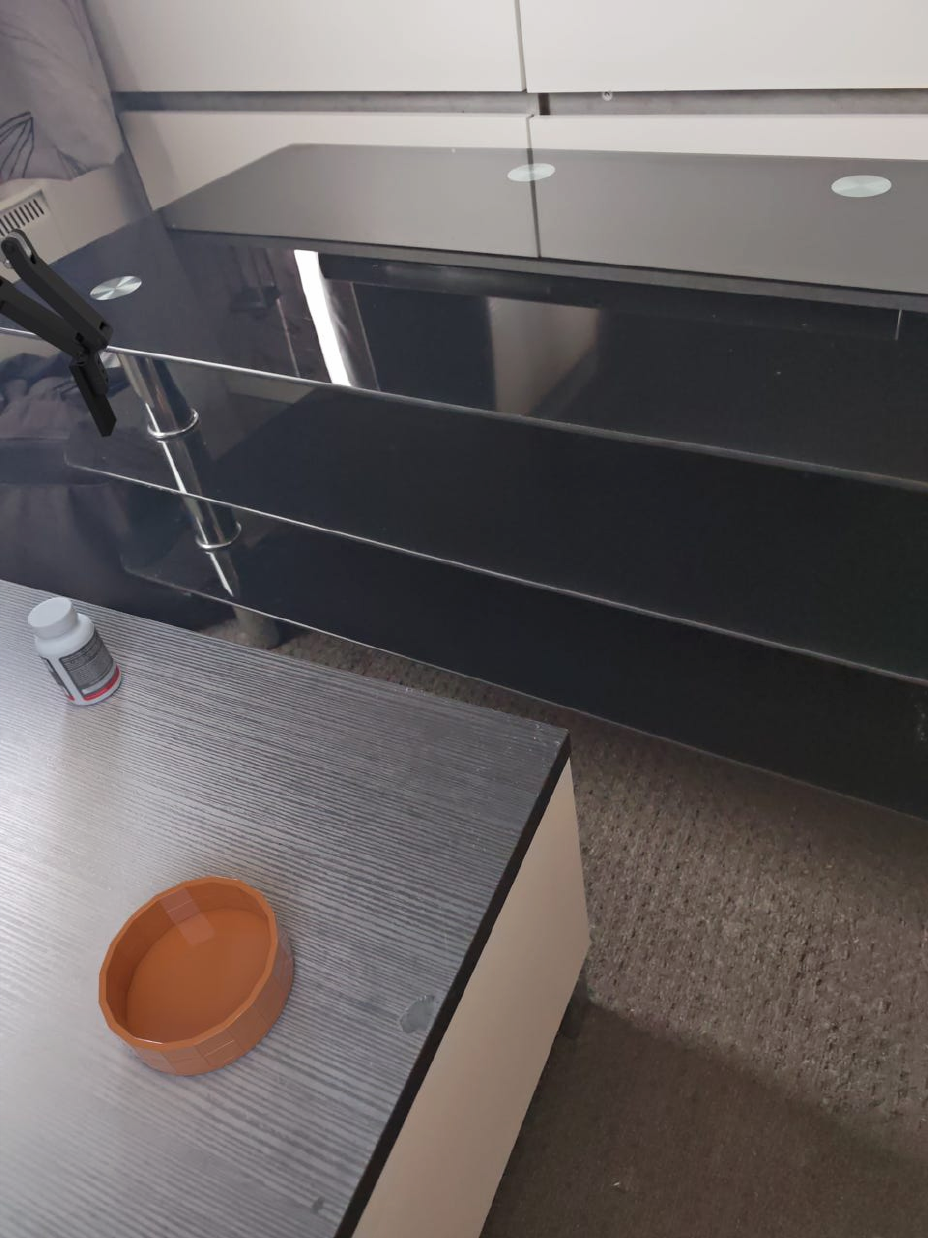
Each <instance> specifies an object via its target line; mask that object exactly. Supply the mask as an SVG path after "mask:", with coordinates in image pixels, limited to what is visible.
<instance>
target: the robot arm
mask: <svg viewBox="0 0 928 1238" xmlns="http://www.w3.org/2000/svg"><path fill="white" fill-rule="evenodd" d="M0 262H1V263H2V264H3V266H4V268H6V269H10V270H13V271H14V272H15V273H16V275H17V276H18V277H19V278H20V279H21V280H22V281H23V283H24V284H26V285H27V286H28V287H29V288H30V289H31V290H32V291H33V292H34V293H35V294H37V296H39V298H41V299H42V300H43V301H44V302H45V303H46V304H47V305H48V306H50V308H51V309H52V310H54V311H55V312H54V311H52V310H51V309H49V308H47V307H46V306H44V305H43V304H42V303H40V302H38V301H36V300H35V299H34V298H31V297H30V296H28V295H27V294H25V293H24V292H22V291H21V290H19V289H18V288H16V287H15V285H14V283H12V281H10V280H9V279H7V278H5V276H3V275H1V274H0V314H1V315H2V316H4V317H6V318H7V319H8V320H11V321H12V322H13V323H16V324H17V325H18V326H21V327H22V328H24V329H25V330H26V331H29V332H30V333H32V334H34V335H35V336H37V337H39V338H40V339H42V340H43V341H45V342H47V343H48V344H50V345H52V346H53V347H55V348H57V349H58V350H60V351H61V352H63V353H65V354H67V355H68V356H70V357H72V358H71V360H70V362H69V364H68V366H67V367H68V370H69V371H70V373H71V375H72V378H73V379H74V381H75V383H76V386H77V388H78V390H79V392H80V394H81V396H82V398H83V401H84V402H85V405H86V407H87V410H88V411H89V414H90V415H91V417H92V419H93V421H94V423H95V425H96V429H97V430H98V432H99V433H100V436H101V438H106V437H111V436H112V434H113V431H114V428H115V426H116V423H117V421H118V419H117V417H116V415H115V412H114V411H113V408H112V405H111V404H110V401H109V400H108V396H107V395H108V393H109V390H110V388H111V378H110V376H109V374H108V372H107V370H106V366H105V365H104V363H103V360H102V358H101V356H100V354H99V352H100V351H104V350H106V349H107V348H108V346H109V344H110V342H111V339H112V337H113V335H114V331H115V330H114V327H113V326H112V325H111V324H110V323H109V321H107V320H106V319H105V318H104V317H103V316H102V315H101V314H100V313H99V312H98V311H97V310H96V309H95V308H94V307H92V305H91V304H90V303H89V302H87V301H86V299H84V298H83V297H82V295H80V294H79V293H78V292H77V291H76V290H75V289H74V288H73V287H72V286H71V285H70V284H68V283H67V282H66V281H65V280H64V278H62V277H61V276H60V275H59V274H58V273H57V272H56V271H55V270H54V269H53V268H52V267H51V266H50V265H48V263H47V262H45V260H43V258H42V257H40V255H39V254H38V252H37V250H36V249H35V247H34V246H33V244H32V242H31V241H30V239H29V237H28V235H27V234H26V232H25V231H24V230H22V229H20V228H12V229H11V230H10V231H9V233H8V234H7V235H5V236H3V237H0Z"/></svg>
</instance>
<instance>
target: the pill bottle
mask: <svg viewBox="0 0 928 1238" xmlns="http://www.w3.org/2000/svg"><path fill="white" fill-rule="evenodd" d="M27 623H28V625H29V627H30V629H31V630H32V632H33V633H34V638H33V647H34V650H35V652H36V655H38V657H39V658H40V660H41V661H42V663H43V664H44V666H45V667H46V669H47V670H48V672H49V673H50V675H51V676H52V678H53V679H54V681H55V683H56V684H57V686H58V687H59V688H60V690H61V691H62V692H63V694H64V696H65V698H67V700H68V701H69V702H70V703H72V704H73V705H77V706H90V705H94V704H97V703H99V702H101V701H103V700H105V699H107V698H109V697H110V696H111V695H113V693H115V691H116V690H118V688H119V686H120V684H121V681H122V672H121V669H120V668H119V666H118V664H117V662H116V661H115V659H114V657H113V655H112V653H111V652H110V651H109V649H108V647H107V646H106V644H105V642H104V640H103V638H102V637H101V635H100V633H99V631H98V629H97V628H96V626H95V625H94V622H93V621H92V620H91V619H90V618H89V616H87V615H85V614H82V613H79V612H78V610H77V608H76V607H75V606H74V604H73V603H72V601H71V600H70V599H69V598H66V597H62V596H57V597H52V598H49V599H45V600H44V601H42V602H40V603H38V604H37V605H36V606H35V607H33V608H32V610H31V611H30V612H29V614H28V616H27Z"/></svg>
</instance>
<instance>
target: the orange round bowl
mask: <svg viewBox="0 0 928 1238" xmlns="http://www.w3.org/2000/svg"><path fill="white" fill-rule="evenodd" d="M294 971H295V965H294V954H293V949H292V945H291V943H290V939H289V936H288V935H287V932H286V931H285V929H284V927H283V926H282V924H281V922H280V920H279V919H278V917H277V915H276V912H274V910H273V909H272V906H271V905H270V904H269V902H268V901H267V899H266V898H265V896H264V895H263V893H262V892H261V891H259V890H258V889H256V888H254V887H253V886H251V885H249V884H248V883H246V882H244V881H242V880H241V879H236V878H229V877H223V876H216V875H212V876H205V877H200V878H194V879H188V880H185V881H181V882H179V883H177V884H176V885H173V886H171V887H169V888H167V889H165V890H163V891H161V892H159V893H157V894H155V895H154V896H153V897H152V898H150V899H149V900H147V902H146V903H144V904H143V905H142V906H141V907H140V908H138V909H137V910H136V911H135V912H133V913H132V914H131V915H130V916H129V917H128V919H127V920H126V921H125V923H124V924H123V925H122V927H121V928H120V930H119V931H117V933H116V935H115V936H114V937H113V939H112V940H111V941H110V944H109V946H108V948H107V951H106V954H105V956H104V959H103V962H102V965H101V967H100V969H99V973H98V1002H97V1003H98V1006H99V1008H100V1010H101V1013H102V1015H103V1017H104V1020H105V1022H106V1024H107V1027H108V1029H109V1030H110V1031H111V1033H113V1034H114V1036H116V1037H117V1039H118V1040H119V1041H120V1042H121V1043H122V1044H123V1045H124V1046H125V1047H126V1048H127V1049H128V1050H129V1051H130V1052H131V1053H132V1054H134V1055H135V1056H136V1057H137V1058H138V1059H139V1060H140V1061H142V1062H143V1063H144V1064H145V1065H147V1066H148V1067H150V1068H152V1069H153V1070H155V1071H158V1072H160V1073H163V1074H168V1075H172V1076H184V1077H186V1076H187V1077H188V1076H197V1075H202V1074H206V1073H211V1072H214V1071H216V1070H218V1069H219V1070H220V1069H222V1068H224V1067H226V1066H228V1065H230V1064H232V1063H234V1062H235V1061H237V1060H239V1059H240V1058H241V1057H243V1056H244V1055H246V1054H248V1052H250V1051H251V1050H252V1049H254V1047H256V1046H257V1045H258V1044H259V1043H260V1042H261V1041H262V1040H263V1039H264V1038H265V1037H266V1036H267V1034H268V1033H269V1032H270V1030H271V1029H273V1027H274V1025H275V1024H276V1022H277V1021H278V1019H279V1018H280V1016H281V1014H282V1012H283V1010H284V1009H285V1006H286V1004H287V1002H288V1000H289V995H290V993H291V989H292V985H293V981H294Z"/></svg>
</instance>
